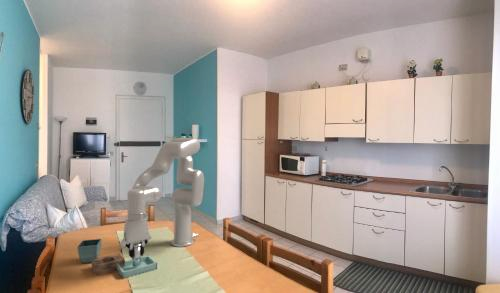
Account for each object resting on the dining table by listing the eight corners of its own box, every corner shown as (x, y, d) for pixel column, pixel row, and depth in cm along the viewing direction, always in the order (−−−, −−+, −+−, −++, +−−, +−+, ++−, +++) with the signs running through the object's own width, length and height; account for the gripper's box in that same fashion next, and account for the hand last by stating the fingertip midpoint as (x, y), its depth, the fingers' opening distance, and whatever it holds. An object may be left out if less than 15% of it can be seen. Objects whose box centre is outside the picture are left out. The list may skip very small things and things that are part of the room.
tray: (148, 260, 142) (148, 255, 142) (157, 268, 133) (157, 263, 133) (116, 269, 132) (116, 263, 132) (123, 278, 124) (123, 272, 124)
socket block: (119, 261, 141) (119, 253, 140) (124, 268, 134) (124, 259, 133) (91, 268, 133) (91, 259, 133) (96, 275, 126) (95, 266, 126)
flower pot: (77, 265, 136) (76, 246, 135) (82, 257, 144) (82, 240, 144) (97, 263, 138) (97, 245, 138) (102, 256, 146) (101, 238, 146)
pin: (140, 261, 136) (140, 241, 135) (143, 265, 132) (143, 244, 132) (129, 264, 133) (129, 243, 132) (133, 268, 129) (133, 246, 129)
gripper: (151, 211, 140) (151, 249, 140) (114, 217, 129) (115, 257, 130) (157, 215, 134) (157, 254, 135) (119, 221, 124) (119, 263, 124)
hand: (136, 255), depth 132 cm, fingers closed on pin, 3 cm apart
